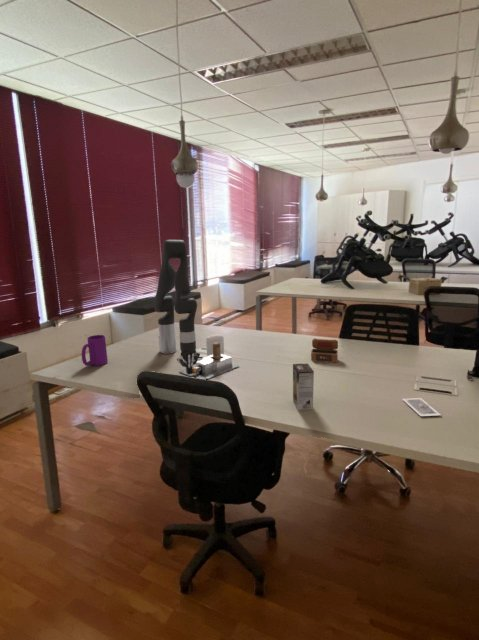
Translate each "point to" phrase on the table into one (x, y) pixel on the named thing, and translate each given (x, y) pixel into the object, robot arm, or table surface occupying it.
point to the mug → (95, 351)
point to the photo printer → (214, 339)
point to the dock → (212, 367)
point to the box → (324, 350)
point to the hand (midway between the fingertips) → (189, 374)
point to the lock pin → (197, 369)
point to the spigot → (216, 351)
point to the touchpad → (421, 407)
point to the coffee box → (303, 386)
